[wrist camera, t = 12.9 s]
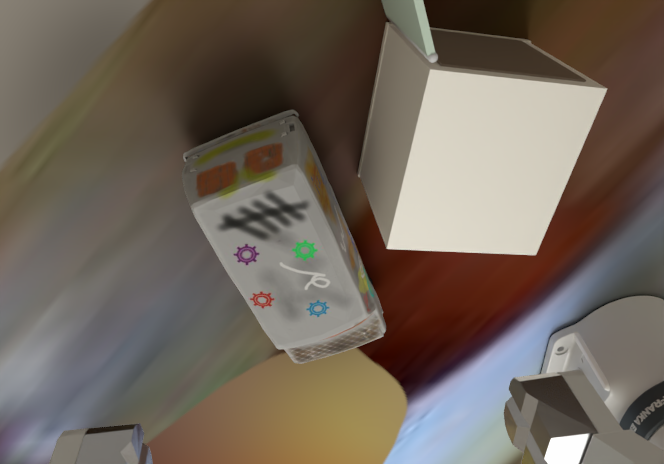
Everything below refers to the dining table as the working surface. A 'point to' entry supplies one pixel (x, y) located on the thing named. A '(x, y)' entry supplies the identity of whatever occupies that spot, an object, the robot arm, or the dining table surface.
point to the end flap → (412, 24)
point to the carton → (472, 141)
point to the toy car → (283, 237)
